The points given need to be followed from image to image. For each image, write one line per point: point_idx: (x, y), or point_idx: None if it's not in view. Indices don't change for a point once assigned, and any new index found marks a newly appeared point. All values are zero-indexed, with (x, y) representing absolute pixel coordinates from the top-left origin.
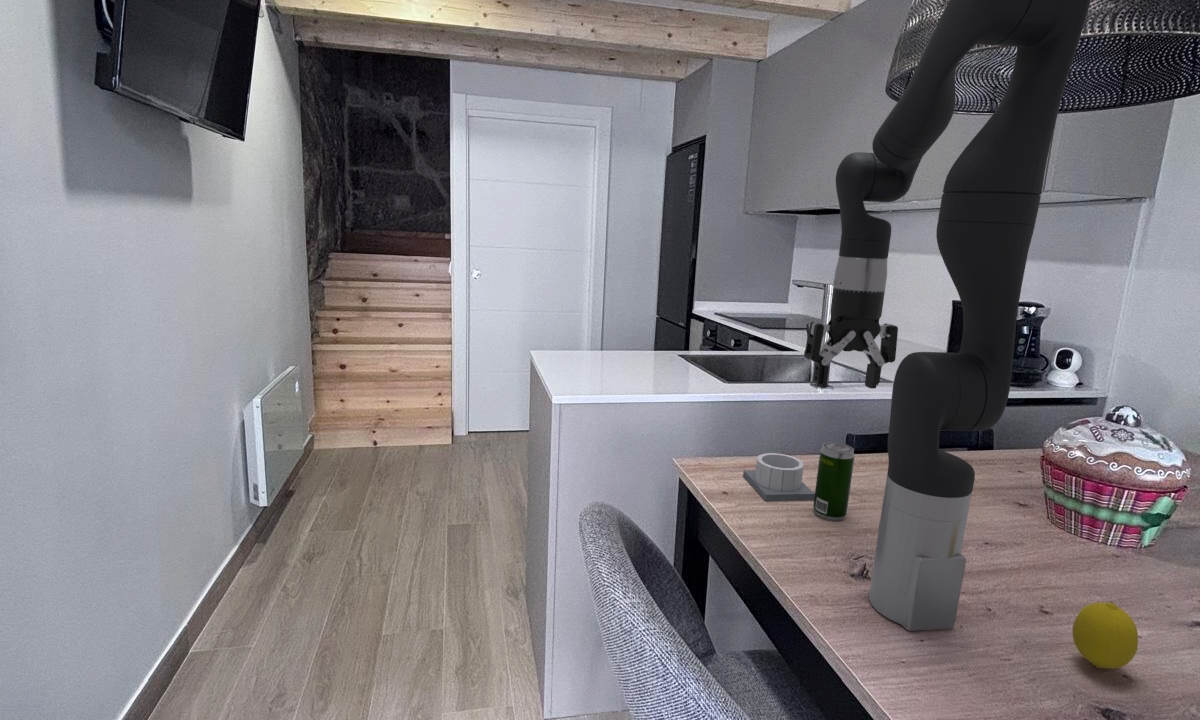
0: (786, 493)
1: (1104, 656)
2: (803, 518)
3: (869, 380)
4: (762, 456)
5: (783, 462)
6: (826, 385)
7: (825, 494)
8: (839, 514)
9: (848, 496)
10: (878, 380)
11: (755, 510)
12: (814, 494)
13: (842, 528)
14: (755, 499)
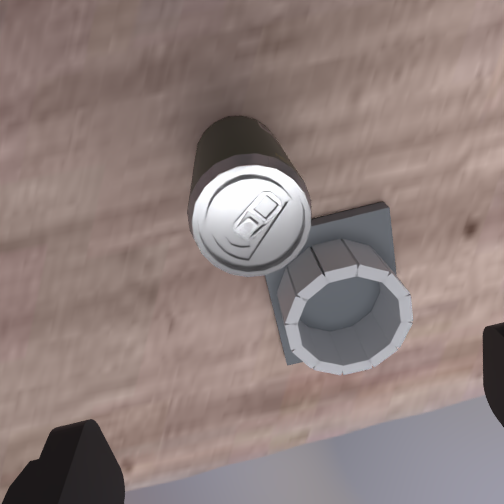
0: (333, 225)
1: None
2: (312, 118)
3: (95, 495)
4: (389, 345)
5: (322, 350)
6: (499, 332)
7: (271, 136)
8: (223, 120)
9: (199, 150)
10: (15, 498)
11: (424, 142)
12: None
13: (222, 76)
14: (405, 206)
